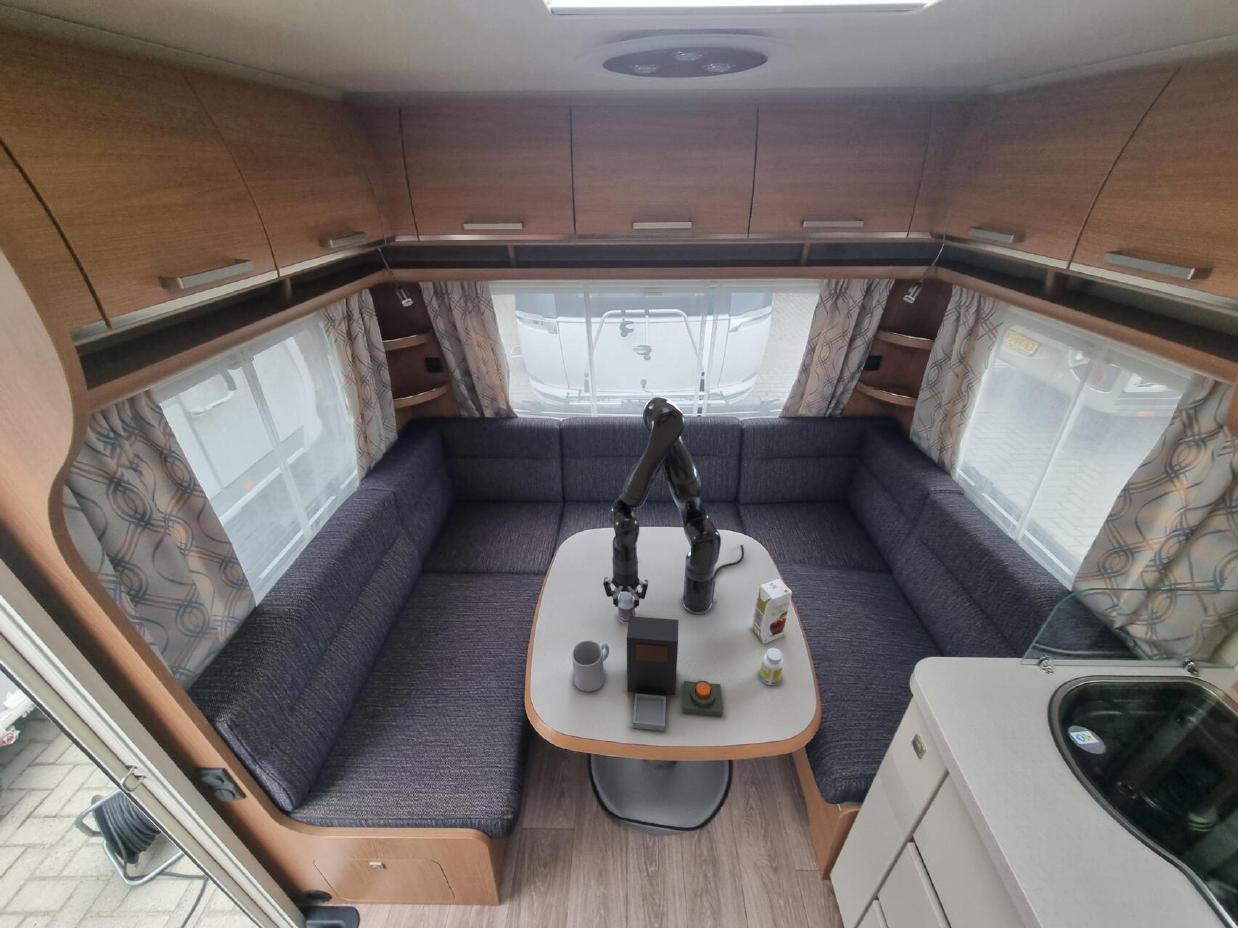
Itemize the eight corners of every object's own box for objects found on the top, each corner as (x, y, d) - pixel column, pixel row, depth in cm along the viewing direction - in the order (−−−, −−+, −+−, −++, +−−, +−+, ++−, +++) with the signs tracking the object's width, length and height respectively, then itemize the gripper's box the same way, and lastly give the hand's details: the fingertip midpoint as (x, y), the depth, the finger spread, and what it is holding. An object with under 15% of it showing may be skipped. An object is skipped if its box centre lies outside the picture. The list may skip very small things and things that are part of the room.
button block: (683, 685, 135) (684, 676, 133) (719, 689, 134) (721, 679, 132) (683, 712, 129) (683, 703, 127) (721, 716, 127) (723, 707, 125)
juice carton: (747, 628, 152) (755, 583, 142) (770, 619, 155) (779, 575, 145) (763, 646, 146) (772, 601, 136) (786, 637, 149) (796, 592, 139)
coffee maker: (629, 669, 140) (629, 615, 129) (675, 673, 139) (678, 619, 128) (623, 726, 126) (621, 672, 114) (674, 732, 124) (677, 677, 113)
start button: (695, 685, 131) (696, 681, 130) (709, 686, 131) (709, 682, 130) (696, 698, 128) (696, 693, 127) (710, 699, 128) (710, 695, 127)
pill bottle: (636, 622, 154) (636, 600, 149) (620, 625, 153) (619, 603, 148) (632, 609, 159) (632, 587, 154) (616, 612, 158) (615, 590, 153)
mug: (588, 697, 133) (585, 672, 127) (567, 678, 138) (564, 653, 132) (619, 670, 140) (618, 644, 134) (598, 652, 145) (597, 627, 140)
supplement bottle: (780, 671, 139) (785, 648, 134) (779, 688, 134) (784, 665, 129) (760, 666, 140) (765, 643, 135) (758, 682, 136) (763, 659, 131)
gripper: (599, 572, 142) (602, 612, 151) (648, 575, 141) (648, 616, 149) (603, 555, 149) (605, 595, 157) (650, 557, 147) (649, 597, 156)
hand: (626, 605), depth 153 cm, fingers closed on pill bottle, 5 cm apart
